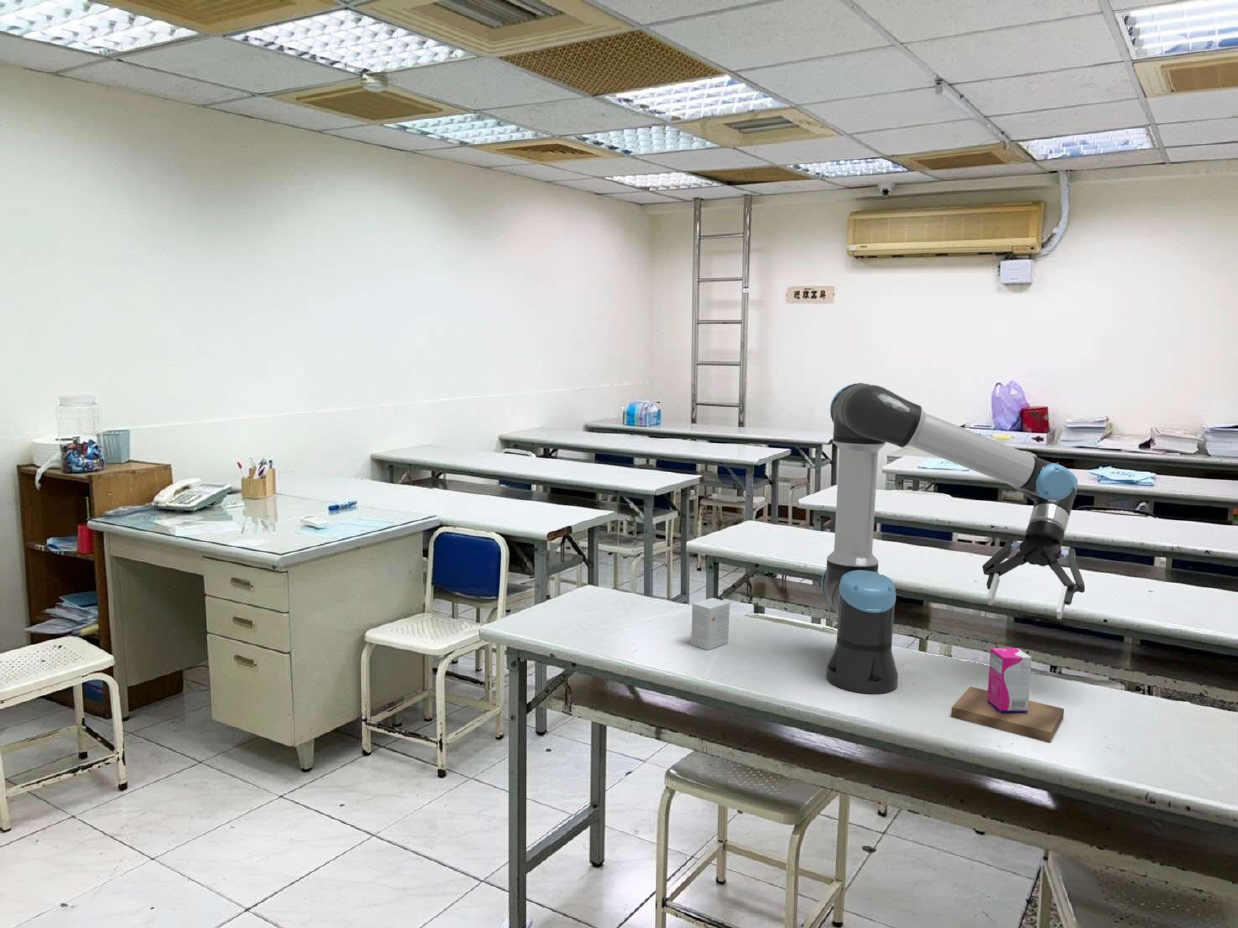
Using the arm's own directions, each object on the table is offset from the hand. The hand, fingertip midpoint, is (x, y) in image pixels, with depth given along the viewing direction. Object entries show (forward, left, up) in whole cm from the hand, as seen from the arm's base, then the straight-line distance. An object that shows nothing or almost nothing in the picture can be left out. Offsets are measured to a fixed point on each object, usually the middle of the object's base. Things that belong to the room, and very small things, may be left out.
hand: (1023, 608), depth 182 cm
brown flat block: (+1, -15, -19) cm, 24 cm away
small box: (-67, -16, -19) cm, 71 cm away
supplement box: (+1, -15, -17) cm, 22 cm away
